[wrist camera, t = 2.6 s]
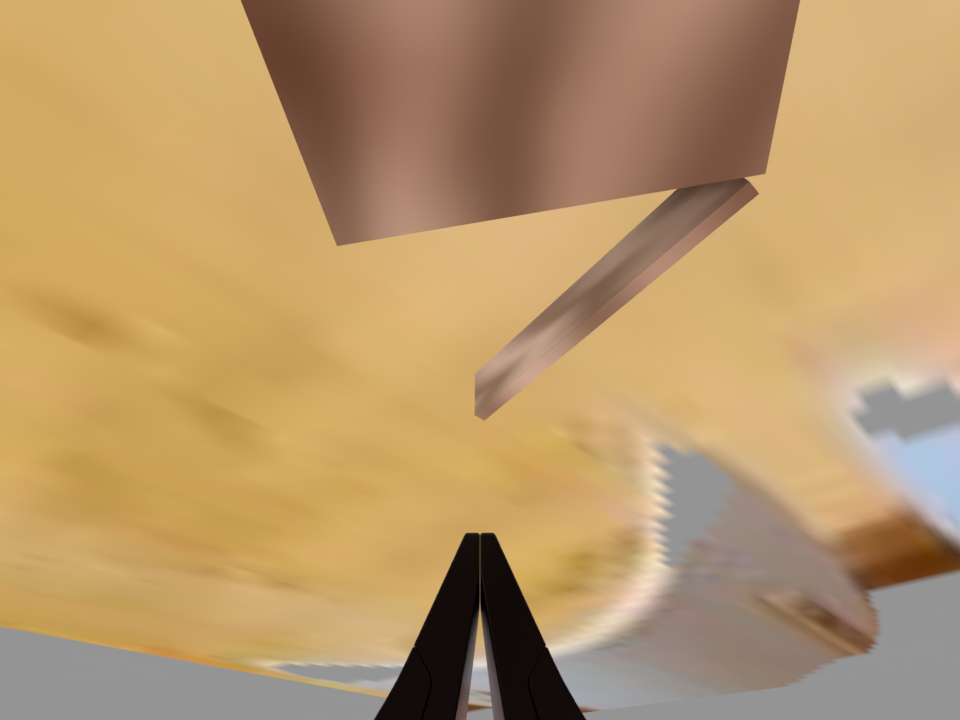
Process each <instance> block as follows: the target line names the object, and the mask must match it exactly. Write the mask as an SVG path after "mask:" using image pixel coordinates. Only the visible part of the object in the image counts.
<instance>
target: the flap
mask: <svg viewBox="0 0 960 720" xmlns="http://www.w3.org/2000/svg"><path fill="white" fill-rule="evenodd" d="M758 194H759V193H758V191H757V190H756V189H755V188H754V186H753V185H752V184H751V183H750V182H749V181H748V180H747V179H745V178H739V179H733V180H727V181H721V182H715V183H709V184H703V185H697V186H691V187H685V188H679V189H677V190H675V191H674V192H673V193H672V194H671V195H670V196H669V197H668V198H667V199H666V200H665V201H663V202H662V203H661V204H660V205H659V206H658V207H657V208H656V209H655V210H654V211H652V212H651V213H650V214H649V215H648V216H647V217H646V218H645V219H644V220H643V221H642V222H640V223H639V224H638V225H637V226H636V227H635V228H634V229H633V230H632V231H631V232H629V233H628V234H627V235H626V236H625V237H624V238H623V239H622V240H621V241H620V242H619V243H617V244H616V245H615V246H614V247H613V248H612V249H611V250H610V251H609V252H608V253H607V254H605V255H604V256H603V257H602V258H601V259H600V260H599V261H598V262H597V263H596V264H594V265H593V266H592V267H591V268H590V269H589V270H588V271H587V272H586V273H585V274H584V275H582V276H581V277H580V278H579V279H578V280H577V281H576V282H575V283H574V284H573V285H571V286H570V287H569V288H568V289H567V290H566V291H565V292H564V293H563V294H562V295H561V296H559V297H558V298H557V299H556V300H555V301H554V302H553V303H552V304H551V305H550V306H548V307H547V308H546V309H545V310H544V311H543V312H542V313H541V314H540V315H539V316H538V317H536V318H535V319H534V320H533V321H532V322H531V323H530V324H529V325H528V326H527V327H526V328H524V329H523V330H522V331H521V332H520V333H519V334H518V335H517V336H516V337H515V338H513V339H512V340H511V341H510V342H509V343H508V344H507V345H506V346H505V347H504V348H503V349H501V350H500V351H499V352H498V353H497V354H496V355H495V356H494V357H493V358H492V359H490V360H489V361H488V362H487V363H486V364H485V365H484V366H483V367H482V368H481V369H480V370H478V371H477V372H476V373H475V413H474V415H475V416H477V417H479V418H480V419H482V420H484V421H485V420H486V419H487V418H488V417H490V416H491V415H492V414H493V413H494V412H496V411H497V410H498V409H499V408H500V407H502V406H503V405H504V404H505V403H507V402H508V401H509V400H510V399H511V398H513V397H514V396H515V395H516V394H517V393H519V392H520V391H521V390H522V389H523V388H525V387H526V386H527V385H528V384H530V383H531V382H532V381H533V380H534V379H536V378H537V377H538V376H539V375H540V374H542V373H543V372H544V371H545V370H546V369H548V368H549V367H550V366H551V365H553V364H554V363H555V362H556V361H557V360H559V359H560V358H561V357H562V356H563V355H565V354H566V353H567V352H568V351H569V350H571V349H572V348H573V347H574V346H576V345H577V344H578V343H579V342H580V341H582V340H583V339H584V338H585V337H586V336H588V335H589V334H590V333H591V332H592V331H594V330H595V329H596V328H597V327H599V326H600V325H601V324H602V323H603V322H605V321H606V320H607V319H608V318H609V317H611V316H612V315H613V314H614V313H615V312H617V311H618V310H619V309H620V308H622V307H623V306H624V305H625V304H626V303H628V302H629V301H630V300H631V299H632V298H634V297H635V296H636V295H637V294H638V293H640V292H641V291H642V290H643V289H645V288H646V287H647V286H648V285H649V284H651V283H652V282H653V281H654V280H655V279H657V278H658V277H659V276H660V275H662V274H663V273H664V272H665V271H666V270H668V269H669V268H670V267H671V266H672V265H674V264H675V263H676V262H677V261H678V260H680V259H681V258H682V257H683V256H685V255H686V254H687V253H688V252H689V251H691V250H692V249H693V248H694V247H695V246H697V245H698V244H699V243H700V242H701V241H703V240H704V239H705V238H706V237H708V236H709V235H710V234H711V233H712V232H714V231H715V230H716V229H717V228H718V227H720V226H721V225H722V224H723V223H724V222H726V221H727V220H728V219H729V218H731V217H732V216H733V215H734V214H735V213H737V212H738V211H739V210H740V209H741V208H743V207H744V206H745V205H746V204H747V203H749V202H750V201H751V200H752V199H754V198H755V197H756V196H757V195H758Z"/></svg>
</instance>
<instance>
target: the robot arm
mask: <svg viewBox="0 0 960 720" xmlns="http://www.w3.org/2000/svg"><path fill="white" fill-rule="evenodd" d="M479 610H481V620H482V628H483V636H484V645H485V653H486V661H487V669H488V677H489V686H490V694H491V702H492V710H493V718H494V720H586V718H585V717H584V715H583V713H582V712H581V710H580V708H579V707H578V705H577V703H576V702H575V700H574V698H573V696H572V695H571V693H570V691H569V689H568V688H567V686H566V684H565V682H564V680H563V678H562V676H561V674H560V672H559V670H558V668H557V666H556V664H555V662H554V660H553V658H552V656H551V654H550V652H549V649H548V648H547V647H546V644H545V641H544V639H543V637H542V635H541V633H540V630H539V628H538V626H537V624H536V622H535V620H534V617H533V615H532V613H531V611H530V609H529V607H528V604H527V602H526V600H525V598H524V596H523V593H522V591H521V589H520V587H519V585H518V583H517V580H516V578H515V576H514V574H513V572H512V569H511V567H510V565H509V563H508V561H507V559H506V556H505V554H504V552H503V550H502V548H501V546H500V543H499V541H498V539H497V537H496V535H495V534H494V533H481V534H479V533H466V534H465V535H464V537H463V539H462V541H461V543H460V546H459V548H458V550H457V552H456V554H455V556H454V559H453V561H452V563H451V565H450V567H449V569H448V572H447V574H446V576H445V578H444V580H443V583H442V585H441V587H440V589H439V591H438V593H437V596H436V598H435V600H434V602H433V604H432V607H431V609H430V611H429V613H428V615H427V617H426V620H425V622H424V624H423V626H422V628H421V630H420V633H419V635H418V637H417V639H416V641H415V644H414V647H413V648H412V649H411V652H410V654H409V656H408V658H407V660H406V662H405V664H404V666H403V668H402V670H401V672H400V674H399V676H398V678H397V680H396V682H395V684H394V686H393V688H392V689H391V691H390V693H389V695H388V696H387V698H386V700H385V702H384V703H383V705H382V707H381V708H380V710H379V712H378V713H377V715H376V717H375V718H374V720H466V718H467V710H468V702H469V694H470V686H471V677H472V669H473V661H474V653H475V645H476V636H477V628H478V620H479Z"/></svg>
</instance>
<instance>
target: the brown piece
mask: <svg viewBox="0 0 960 720" xmlns="http://www.w3.org/2000/svg"><path fill="white" fill-rule="evenodd" d="M241 3H242V5H243V8H244V10H245V13H246V15H247V18H248V20H249V23H250V26H251V28H252V31H253V33H254V36H255V38H256V41H257V43H258V46H259V48H260V51H261V54H262V56H263V59H264V61H265V64H266V66H267V69H268V71H269V74H270V77H271V79H272V82H273V84H274V87H275V89H276V92H277V94H278V97H279V100H280V102H281V105H282V107H283V110H284V112H285V115H286V117H287V120H288V122H289V125H290V128H291V130H292V133H293V135H294V138H295V140H296V143H297V145H298V148H299V151H300V153H301V156H302V158H303V161H304V163H305V166H306V168H307V171H308V174H309V176H310V179H311V181H312V184H313V186H314V189H315V191H316V194H317V196H318V199H319V202H320V204H321V207H322V209H323V212H324V214H325V217H326V219H327V222H328V225H329V227H330V230H331V232H332V235H333V237H334V240H335V242H336V245H337V246H341V245H347V244H353V243H359V242H365V241H371V240H377V239H383V238H389V237H395V236H401V235H406V234H412V233H418V232H424V231H430V230H436V229H442V228H448V227H454V226H460V225H466V224H472V223H478V222H484V221H490V220H495V219H501V218H507V217H513V216H519V215H525V214H531V213H537V212H543V211H549V210H555V209H561V208H567V207H573V206H579V205H584V204H590V203H596V202H602V201H608V200H614V199H620V198H626V197H632V196H638V195H644V194H650V193H656V192H662V191H667V190H673V189H679V188H685V187H691V186H697V185H703V184H709V183H715V182H721V181H727V180H733V179H739V178H745V177H751V176H756V175H762V174H766V169H767V164H768V159H769V154H770V149H771V144H772V139H773V134H774V129H775V124H776V119H777V114H778V109H779V104H780V99H781V94H782V89H783V84H784V79H785V74H786V69H787V64H788V59H789V54H790V49H791V44H792V39H793V34H794V29H795V24H796V19H797V14H798V9H799V4H800V0H241Z"/></svg>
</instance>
